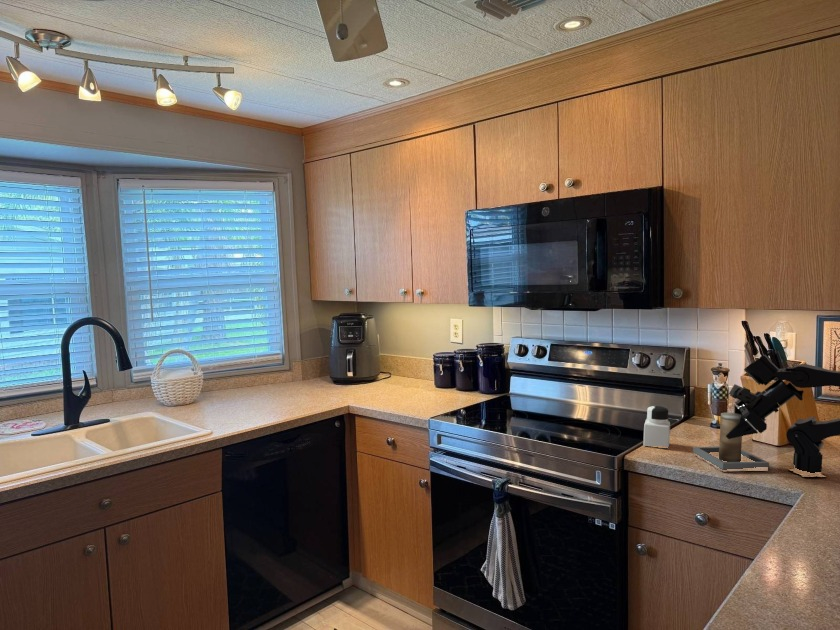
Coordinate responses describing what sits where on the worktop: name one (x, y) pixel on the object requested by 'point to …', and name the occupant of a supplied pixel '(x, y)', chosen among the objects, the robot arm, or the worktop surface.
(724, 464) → the tray
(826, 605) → the worktop surface
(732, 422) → the translucent brown jar
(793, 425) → the robot arm
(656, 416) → the medicine bottle
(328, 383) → the worktop surface
